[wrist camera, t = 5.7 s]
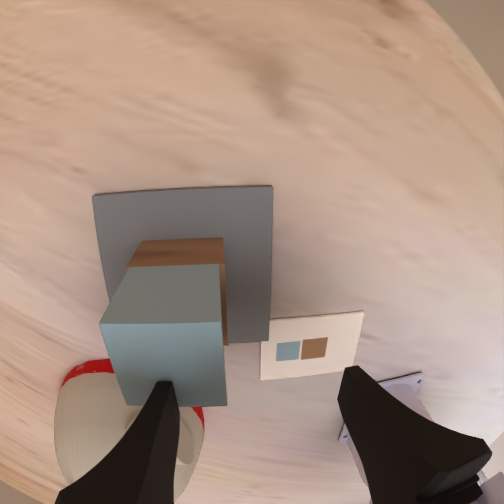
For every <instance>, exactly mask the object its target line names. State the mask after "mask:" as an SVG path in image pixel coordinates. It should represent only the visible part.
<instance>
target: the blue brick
mask: <svg viewBox="0 0 504 504" xmlns="http://www.w3.org/2000/svg"><path fill="white" fill-rule="evenodd" d="M99 326H100V329H101V332H102V336H103V339H104V342H105V346H106V349H107V352H108V355H109V358H110V361H111V364H112V367H113V370H114V373H115V375H116V378H117V381H118V384H119V386H120V389H121V392H122V394H123V397H124V400H125V402H126V405H130V406H144V404H145V402H146V401H147V399H148V397H149V395H150V393H151V392H152V390H153V388H154V386H155V384H156V382H158V381H172V382H173V386H174V391H175V395H176V399H177V403H178V407H209V406H227V394H226V379H225V363H224V346H223V330H222V314H221V296H220V277H219V264H200V265H175V266H149V267H129V269H128V271H127V272H126V274H125V276H124V278H123V280H122V281H121V283H120V285H119V287H118V289H117V290H116V292H115V294H114V296H113V298H112V300H111V301H110V303H109V305H108V307H107V309H106V311H105V313H104V315H103V317H102V319H101V321H100V323H99Z"/></svg>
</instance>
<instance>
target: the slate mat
mask: <svg viewBox="0 0 504 504" xmlns="http://www.w3.org/2000/svg"><path fill="white" fill-rule="evenodd" d="M92 202H93V210H94V218H95V225H96V232H97V239H98V245H99V251H100V257H101V262H102V267H103V273H104V278H105V283H106V287H107V292H108V296H109V301H111V300H112V298H113V296H114V294H115V292H116V290H117V289H118V287H119V285H120V283H121V281H122V280H123V278H124V276H125V274H126V266H127V265H128V263H129V261H130V260H131V258H132V256H133V255H134V253H135V251H136V250H137V248H138V247H139V245H140V243H141V242H142V241H146V240H169V239H192V238H218V237H223V245H224V259H225V281H226V305H227V327H228V343H245V342H261V341H269V323H270V295H271V262H272V222H273V187H272V186H271V185H267V186H219V187H193V188H174V189H157V190H142V191H129V192H116V193H105V194H95V195H93V196H92Z"/></svg>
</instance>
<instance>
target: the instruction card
mask: <svg viewBox="0 0 504 504" xmlns="http://www.w3.org/2000/svg"><path fill="white" fill-rule="evenodd" d="M364 313H365V312H364V311H357V312H348V313H339V314H329V315H318V316H307V317H295V318H282V319H270V323H269V341H261V355H260V381H263V380H274V379H284V378H294V377H302V376H310V375H318V374H325V373H332V372H339V371H344V369H345V367H351V366H352V365H353V361H354V357H355V353H356V349H357V345H358V340H359V336H360V332H361V327H362V322H363V318H364Z"/></svg>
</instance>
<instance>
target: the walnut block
mask: <svg viewBox="0 0 504 504" xmlns="http://www.w3.org/2000/svg"><path fill="white" fill-rule="evenodd" d="M200 264H219V277H220V296H221V314H222V330H223V346H225V345H228V327H227V305H226V281H225V259H224V245H223V237H218V238H192V239H169V240H146V241H142V242H141V243H140V245H139V247H138V248H137V250H136V251H135V253H134V255H133V256H132V258H131V260H130V261H129V263H128V265H127V266H126V272H127V271H128V269H129V267H149V266H175V265H200Z"/></svg>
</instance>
